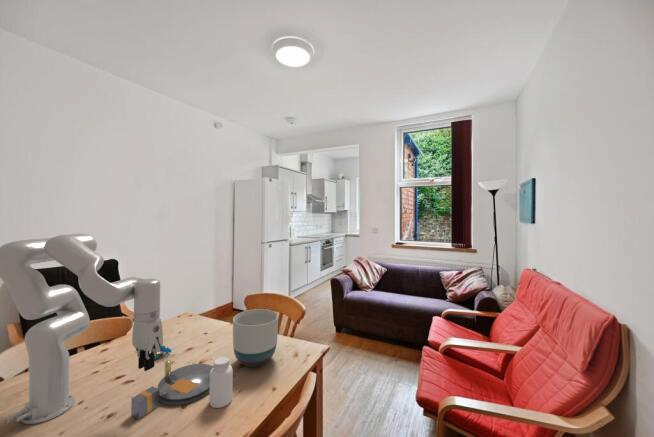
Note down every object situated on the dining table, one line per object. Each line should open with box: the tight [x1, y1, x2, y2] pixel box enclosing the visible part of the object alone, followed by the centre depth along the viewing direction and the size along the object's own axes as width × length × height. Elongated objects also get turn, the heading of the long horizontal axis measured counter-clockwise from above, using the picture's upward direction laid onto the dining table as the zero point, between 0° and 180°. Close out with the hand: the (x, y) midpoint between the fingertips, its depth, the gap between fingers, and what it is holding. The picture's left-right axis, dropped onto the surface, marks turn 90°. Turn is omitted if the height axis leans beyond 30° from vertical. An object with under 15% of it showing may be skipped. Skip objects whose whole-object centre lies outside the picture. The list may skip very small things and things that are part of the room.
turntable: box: [157, 359, 214, 401], centre depth 104 cm, size 21×21×9 cm
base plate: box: [159, 389, 210, 407], centre depth 104 cm, size 22×22×1 cm
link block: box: [130, 386, 160, 421], centre depth 91 cm, size 7×4×6 cm, turn 157°
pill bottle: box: [208, 356, 234, 409], centre depth 96 cm, size 8×8×15 cm
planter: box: [232, 308, 279, 368], centre depth 122 cm, size 20×20×21 cm
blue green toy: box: [150, 345, 173, 360], centre depth 125 cm, size 11×6×10 cm
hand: (146, 367), depth 91 cm, fingers closed
